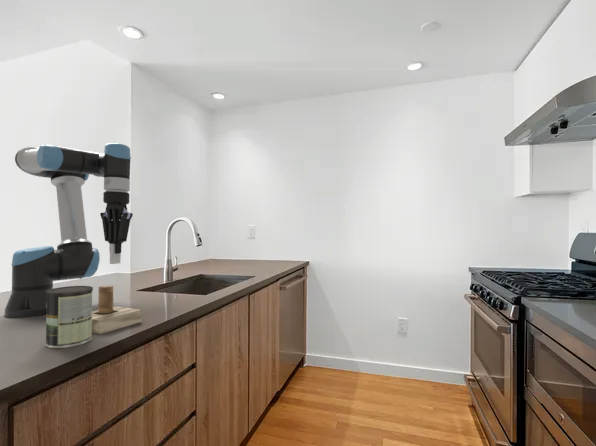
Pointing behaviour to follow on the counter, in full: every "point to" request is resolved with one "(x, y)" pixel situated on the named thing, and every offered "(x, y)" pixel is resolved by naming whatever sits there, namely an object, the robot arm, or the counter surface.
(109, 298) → the oak peg
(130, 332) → the counter surface
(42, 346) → the counter surface
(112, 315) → the maple block
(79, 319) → the coffee can
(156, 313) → the counter surface
